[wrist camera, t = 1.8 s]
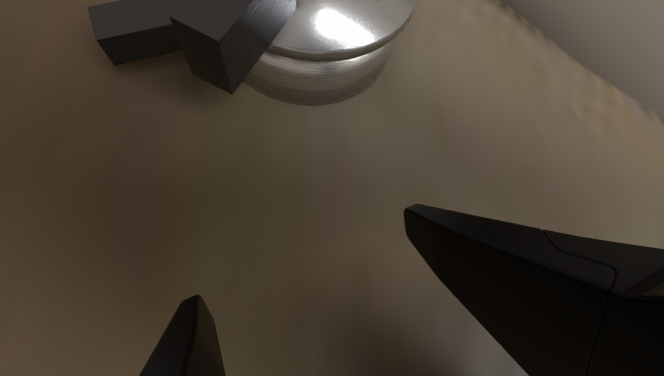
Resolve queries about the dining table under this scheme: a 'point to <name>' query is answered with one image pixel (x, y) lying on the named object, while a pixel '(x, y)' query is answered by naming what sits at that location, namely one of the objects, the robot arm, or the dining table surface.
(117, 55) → the pot
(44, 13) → the dining table surface
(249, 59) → the lid
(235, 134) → the dining table surface
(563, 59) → the dining table surface
